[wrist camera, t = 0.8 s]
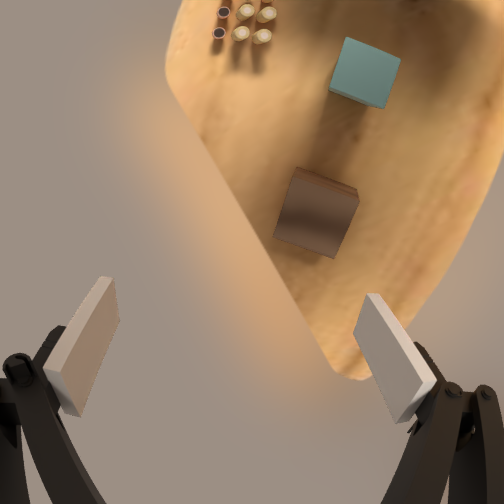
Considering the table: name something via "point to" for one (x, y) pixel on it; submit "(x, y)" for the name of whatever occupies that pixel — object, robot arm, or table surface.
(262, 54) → the table surface
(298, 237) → the walnut base
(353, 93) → the teal block
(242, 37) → the ammunition
